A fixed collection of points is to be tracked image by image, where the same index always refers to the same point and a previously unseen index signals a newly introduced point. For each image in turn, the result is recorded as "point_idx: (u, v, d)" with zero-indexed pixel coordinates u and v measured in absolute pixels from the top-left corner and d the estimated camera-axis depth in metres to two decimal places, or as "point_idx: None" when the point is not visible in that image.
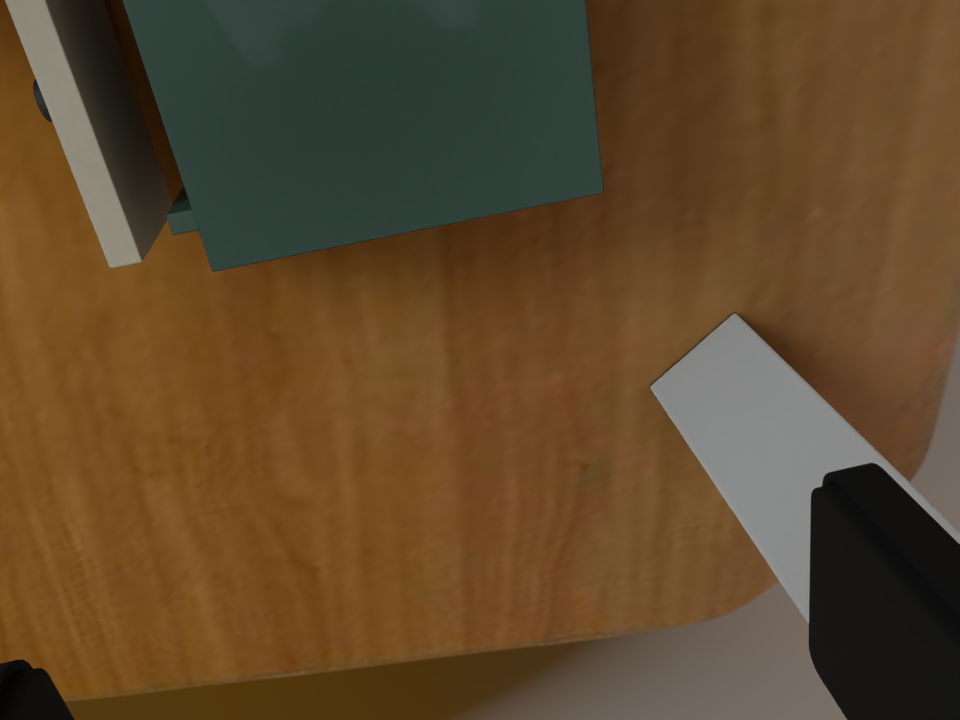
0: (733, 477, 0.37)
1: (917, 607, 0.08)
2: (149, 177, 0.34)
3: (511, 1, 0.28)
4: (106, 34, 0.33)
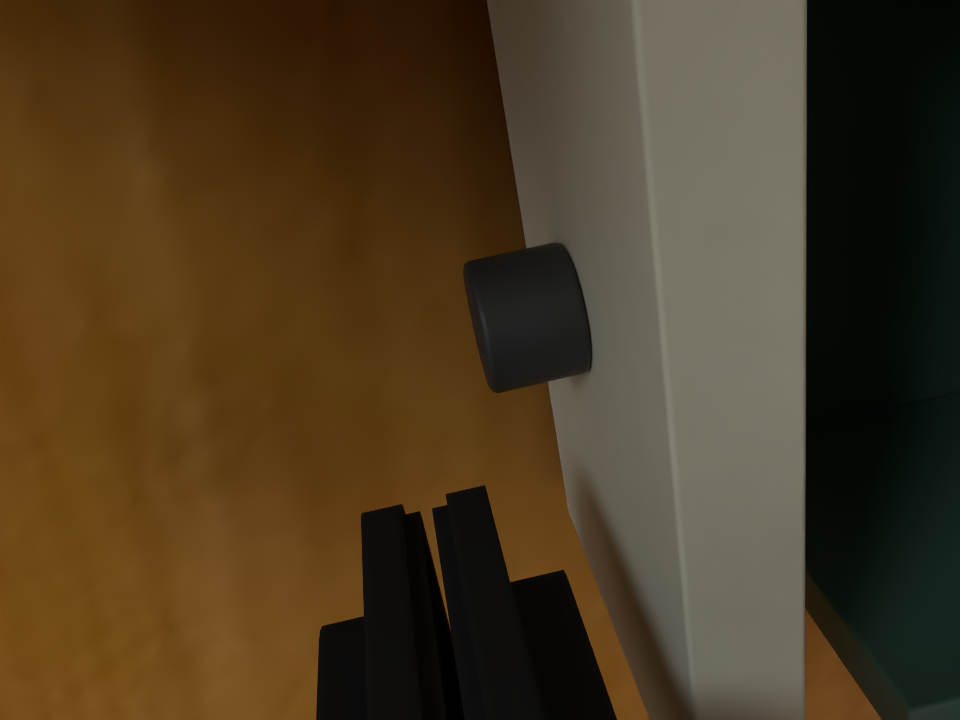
0: None
1: (451, 620, 0.09)
2: None
3: None
4: None
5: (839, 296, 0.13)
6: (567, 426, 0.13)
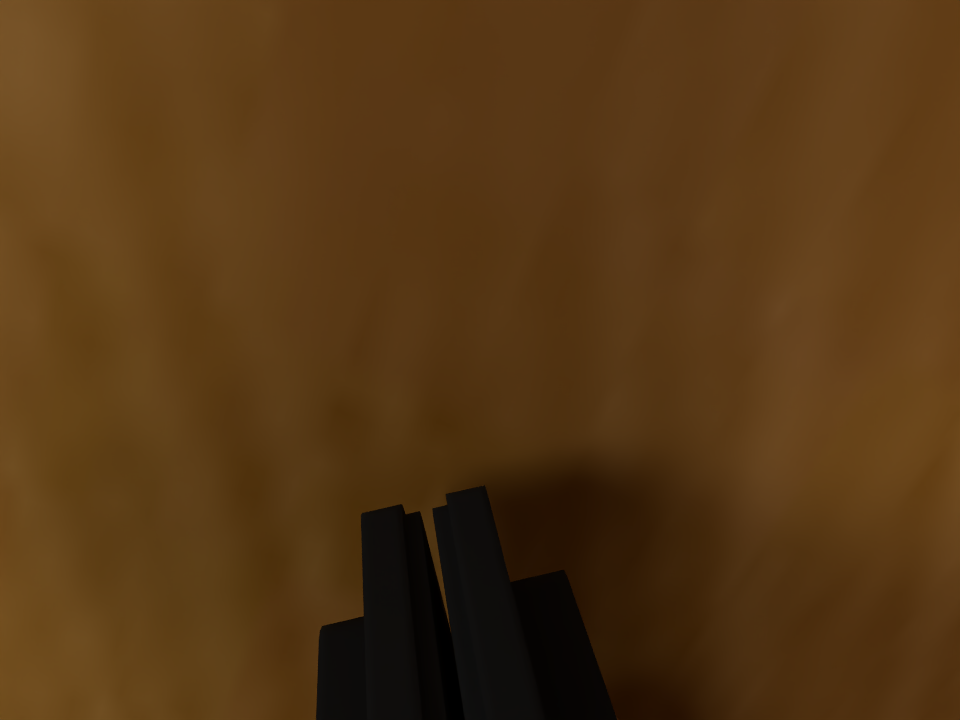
0: None
1: (451, 620, 0.09)
2: None
3: None
4: None
5: None
6: None
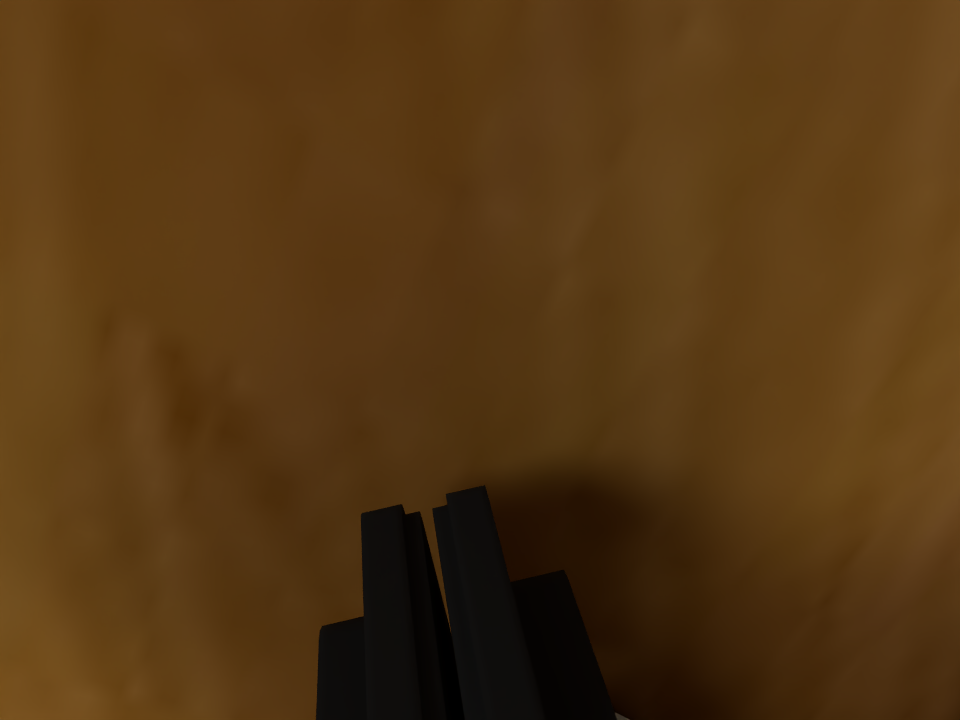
0: None
1: (451, 620, 0.09)
2: None
3: None
4: None
5: None
6: None
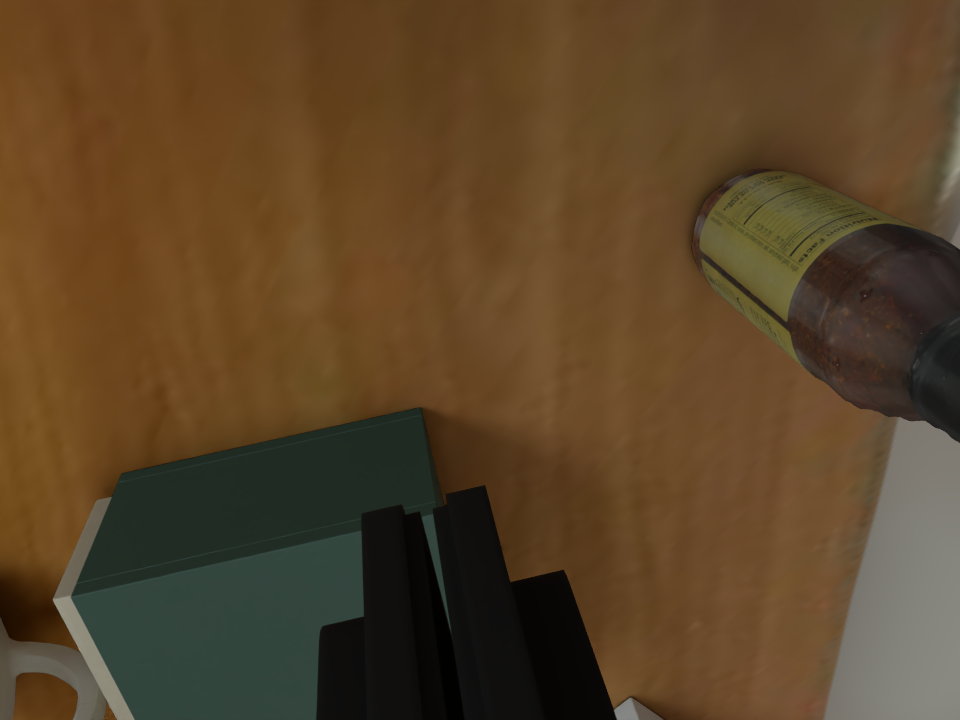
0: None
1: (451, 620, 0.09)
2: None
3: None
4: None
5: None
6: None
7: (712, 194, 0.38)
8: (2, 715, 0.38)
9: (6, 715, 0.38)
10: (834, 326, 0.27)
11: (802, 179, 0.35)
